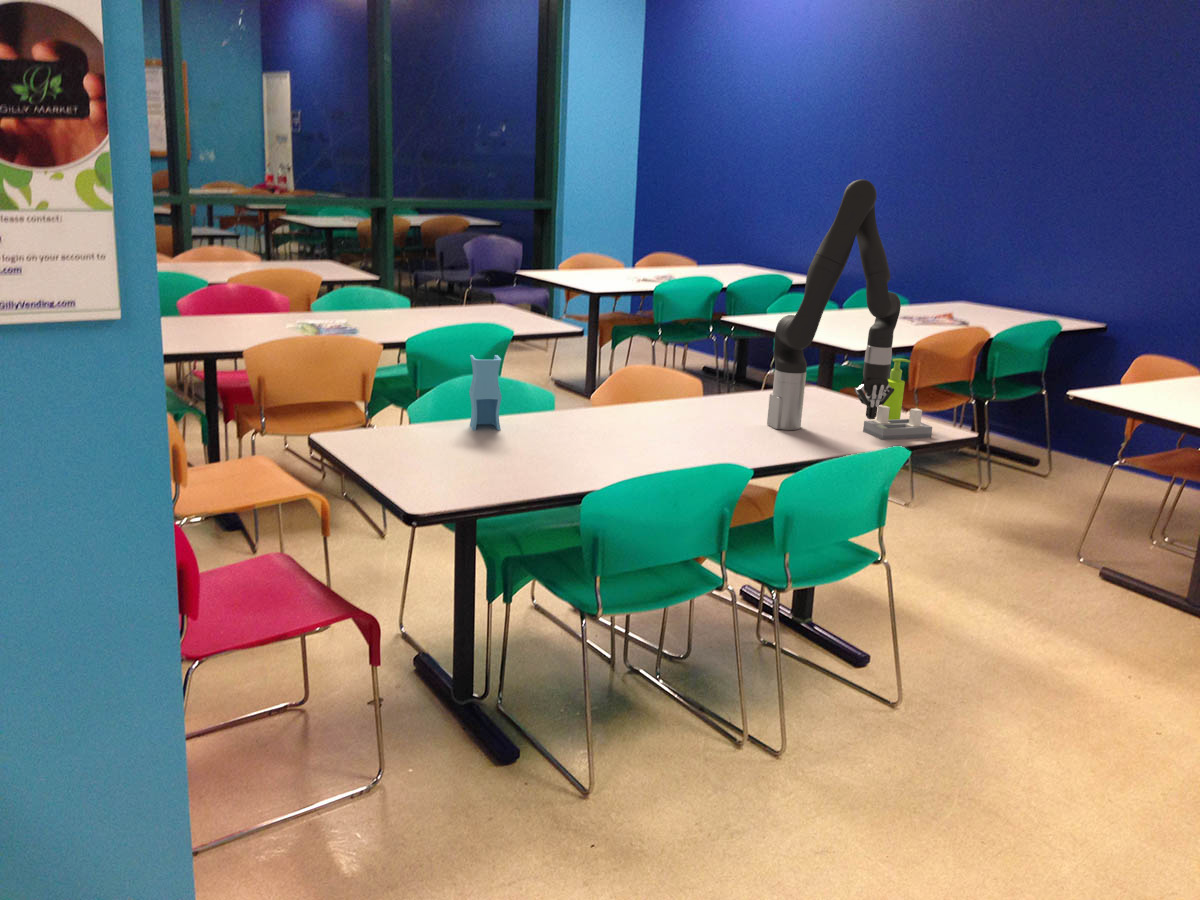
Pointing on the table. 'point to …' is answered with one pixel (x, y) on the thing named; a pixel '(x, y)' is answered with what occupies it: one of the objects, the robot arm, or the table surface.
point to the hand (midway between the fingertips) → (870, 418)
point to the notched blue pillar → (485, 392)
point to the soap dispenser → (896, 390)
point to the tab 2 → (915, 418)
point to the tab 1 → (882, 415)
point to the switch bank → (896, 430)
